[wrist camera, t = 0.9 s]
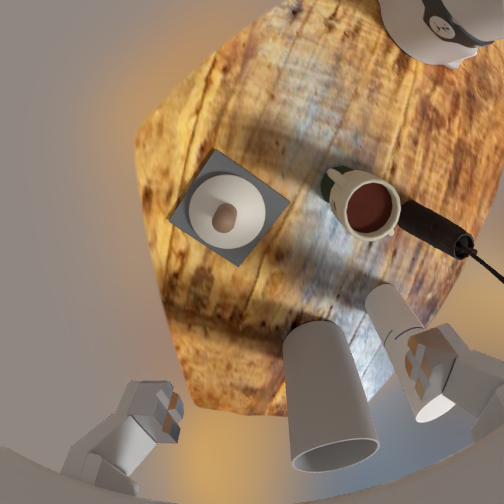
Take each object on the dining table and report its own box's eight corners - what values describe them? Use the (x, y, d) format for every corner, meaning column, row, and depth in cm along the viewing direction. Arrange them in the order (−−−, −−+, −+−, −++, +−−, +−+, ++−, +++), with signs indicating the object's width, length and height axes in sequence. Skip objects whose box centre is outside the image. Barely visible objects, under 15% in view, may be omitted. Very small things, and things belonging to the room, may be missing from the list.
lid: (217, 159, 37) (211, 163, 33) (280, 203, 40) (283, 213, 35) (177, 219, 41) (167, 231, 37) (236, 259, 44) (234, 274, 39)
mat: (216, 149, 37) (215, 149, 37) (289, 201, 40) (290, 202, 40) (169, 220, 42) (168, 221, 41) (238, 265, 45) (238, 267, 44)
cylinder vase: (269, 341, 51) (272, 461, 29) (323, 307, 48) (359, 428, 25) (305, 372, 55) (319, 476, 33) (355, 343, 52) (390, 448, 29)
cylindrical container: (404, 298, 47) (467, 396, 24) (376, 321, 49) (425, 426, 27) (387, 276, 45) (456, 381, 22) (357, 302, 47) (408, 416, 25)
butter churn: (444, 213, 40) (558, 296, 14) (412, 253, 43) (508, 361, 18) (416, 178, 38) (552, 250, 12) (381, 222, 41) (492, 334, 16)
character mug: (297, 179, 39) (314, 202, 27) (329, 143, 36) (361, 150, 25) (348, 225, 42) (380, 263, 30) (378, 193, 39) (420, 219, 27)
